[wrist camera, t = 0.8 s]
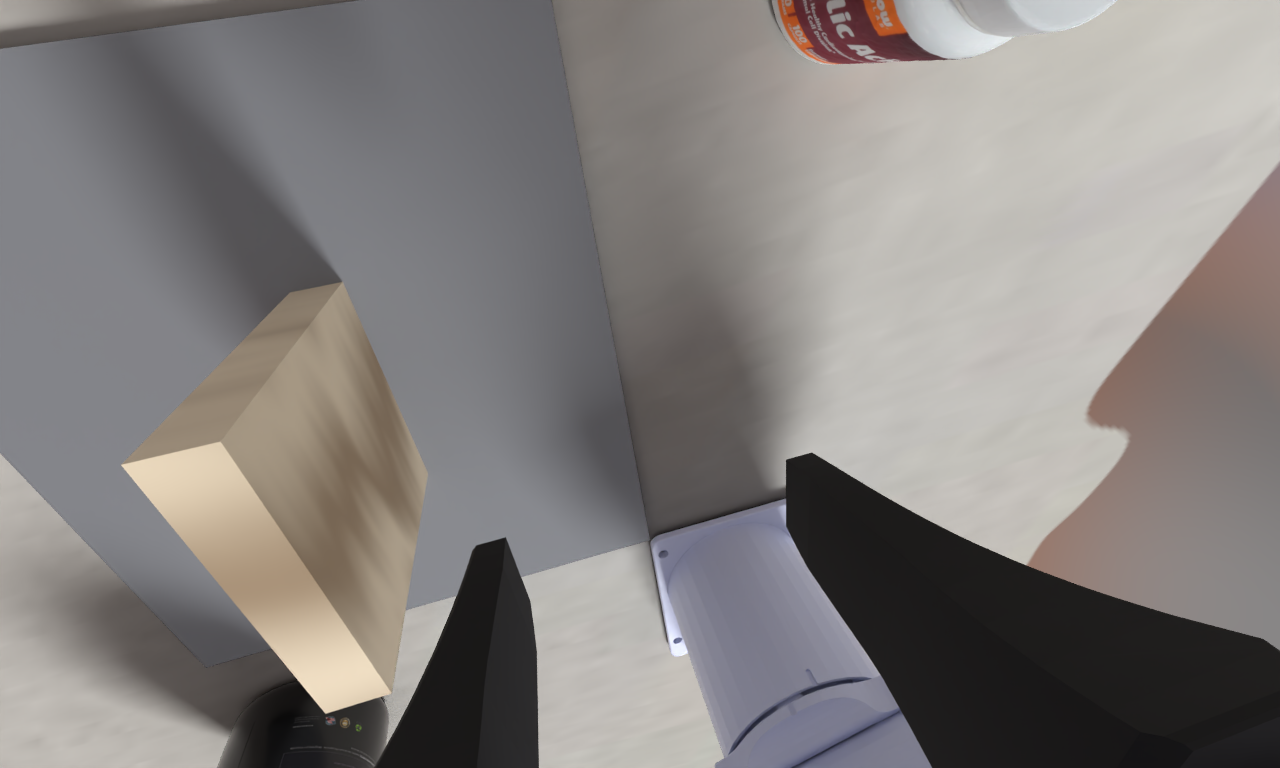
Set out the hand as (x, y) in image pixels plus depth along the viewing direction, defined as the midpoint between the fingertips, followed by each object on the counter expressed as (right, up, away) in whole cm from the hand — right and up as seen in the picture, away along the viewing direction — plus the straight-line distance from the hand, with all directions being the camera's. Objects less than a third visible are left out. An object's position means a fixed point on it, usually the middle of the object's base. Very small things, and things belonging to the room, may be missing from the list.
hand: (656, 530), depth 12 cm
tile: (-10, +3, +7) cm, 13 cm away
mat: (-11, +3, +8) cm, 14 cm away
